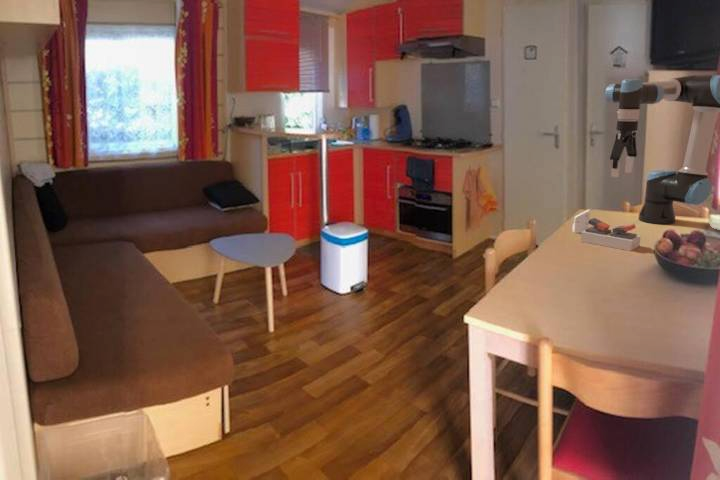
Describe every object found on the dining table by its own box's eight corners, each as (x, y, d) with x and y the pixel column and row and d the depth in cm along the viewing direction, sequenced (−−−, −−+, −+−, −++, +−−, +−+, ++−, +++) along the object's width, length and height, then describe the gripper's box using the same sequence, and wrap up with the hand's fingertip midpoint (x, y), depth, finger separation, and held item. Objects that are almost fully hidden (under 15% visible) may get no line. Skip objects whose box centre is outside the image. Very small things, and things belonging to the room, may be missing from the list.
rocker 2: (618, 232, 241) (617, 226, 241) (636, 229, 236) (634, 224, 236) (613, 234, 238) (612, 228, 238) (631, 232, 233) (630, 226, 233)
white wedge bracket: (599, 227, 258) (590, 210, 256) (577, 238, 260) (568, 221, 258) (596, 225, 261) (587, 208, 260) (575, 236, 263) (566, 219, 262)
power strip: (590, 237, 252) (591, 225, 251) (639, 245, 239) (640, 233, 237) (580, 241, 246) (581, 229, 245) (630, 250, 233) (631, 238, 231)
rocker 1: (592, 222, 248) (594, 217, 247) (607, 230, 244) (610, 225, 243) (587, 224, 245) (589, 219, 244) (602, 232, 241) (605, 227, 240)
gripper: (630, 118, 245) (624, 170, 251) (604, 121, 228) (598, 177, 234) (649, 119, 240) (643, 172, 246) (624, 122, 223) (618, 179, 228)
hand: (621, 174), depth 240 cm, fingers open, 13 cm apart
